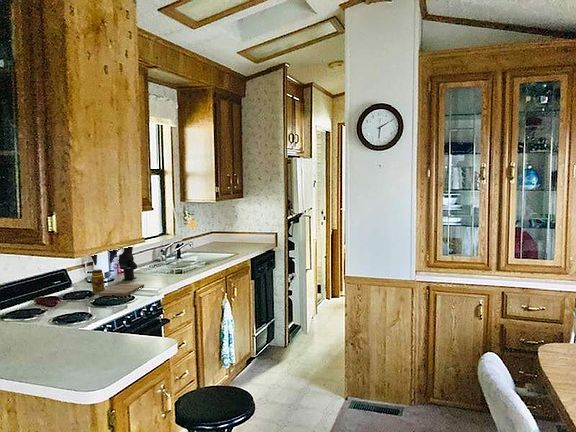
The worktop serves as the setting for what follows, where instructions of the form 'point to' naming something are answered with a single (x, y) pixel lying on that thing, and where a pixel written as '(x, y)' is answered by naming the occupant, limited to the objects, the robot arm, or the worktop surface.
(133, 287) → the walnut board
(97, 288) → the yellow black cylinder
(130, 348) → the worktop surface
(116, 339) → the worktop surface
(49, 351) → the worktop surface
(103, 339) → the worktop surface
